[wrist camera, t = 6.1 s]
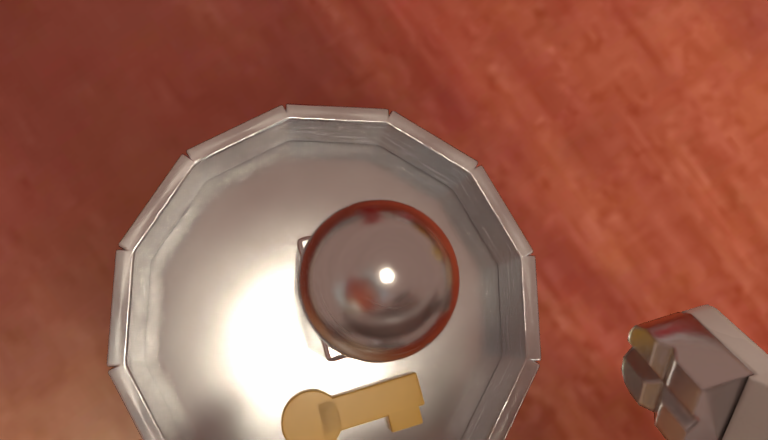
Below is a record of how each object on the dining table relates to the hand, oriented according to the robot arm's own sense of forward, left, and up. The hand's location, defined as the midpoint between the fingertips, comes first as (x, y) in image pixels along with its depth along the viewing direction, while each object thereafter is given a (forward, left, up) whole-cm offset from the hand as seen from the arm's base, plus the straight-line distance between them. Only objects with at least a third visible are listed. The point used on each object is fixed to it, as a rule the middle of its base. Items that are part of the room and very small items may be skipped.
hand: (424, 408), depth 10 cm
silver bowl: (+2, +1, -9) cm, 9 cm away
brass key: (-1, +1, -8) cm, 8 cm away
